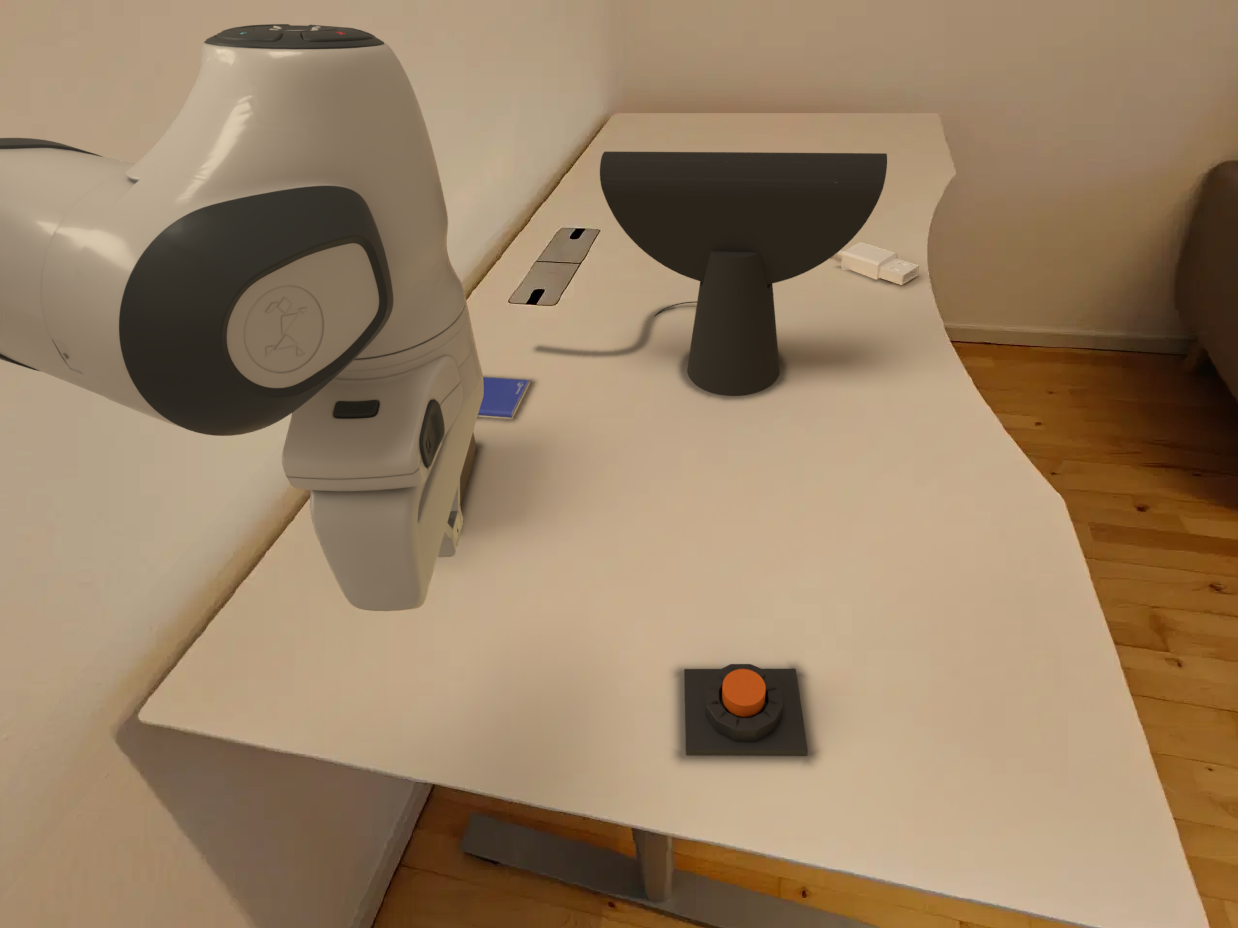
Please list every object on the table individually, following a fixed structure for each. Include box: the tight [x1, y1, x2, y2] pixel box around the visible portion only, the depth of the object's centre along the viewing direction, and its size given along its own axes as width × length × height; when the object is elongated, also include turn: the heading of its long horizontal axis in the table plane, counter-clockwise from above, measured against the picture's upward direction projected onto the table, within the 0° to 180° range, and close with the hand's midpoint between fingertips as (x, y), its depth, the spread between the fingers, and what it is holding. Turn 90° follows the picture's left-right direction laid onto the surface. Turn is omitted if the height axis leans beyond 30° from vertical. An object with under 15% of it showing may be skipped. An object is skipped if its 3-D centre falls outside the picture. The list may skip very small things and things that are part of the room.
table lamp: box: [599, 151, 888, 397], centre depth 104 cm, size 40×28×30 cm
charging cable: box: [835, 241, 920, 286], centre depth 134 cm, size 5×32×3 cm, turn 41°
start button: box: [722, 669, 766, 717], centre depth 69 cm, size 4×4×2 cm
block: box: [683, 663, 808, 757], centre depth 70 cm, size 8×10×4 cm
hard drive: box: [477, 376, 531, 420], centre depth 109 cm, size 2×8×12 cm
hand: (447, 540), depth 52 cm, fingers closed
